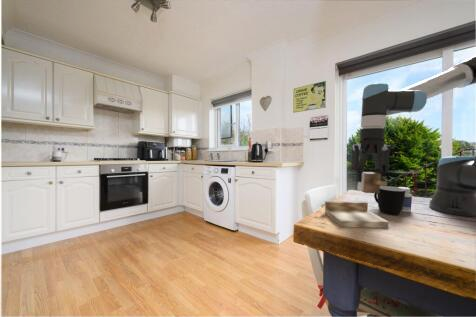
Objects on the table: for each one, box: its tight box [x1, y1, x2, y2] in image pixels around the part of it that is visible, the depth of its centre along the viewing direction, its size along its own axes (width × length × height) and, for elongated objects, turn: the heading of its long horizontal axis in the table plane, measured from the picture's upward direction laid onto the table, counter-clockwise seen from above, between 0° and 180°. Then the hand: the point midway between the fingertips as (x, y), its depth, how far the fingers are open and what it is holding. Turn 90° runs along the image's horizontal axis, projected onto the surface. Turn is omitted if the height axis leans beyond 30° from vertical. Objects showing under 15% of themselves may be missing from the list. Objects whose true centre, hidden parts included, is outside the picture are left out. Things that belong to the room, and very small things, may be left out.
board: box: [324, 200, 390, 228], centre depth 74 cm, size 16×13×5 cm
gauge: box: [361, 171, 388, 194], centre depth 72 cm, size 5×11×7 cm, turn 179°
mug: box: [373, 185, 405, 216], centre depth 84 cm, size 12×9×10 cm
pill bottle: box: [397, 186, 413, 213], centre depth 85 cm, size 5×5×10 cm
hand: (368, 190), depth 75 cm, fingers closed on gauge, 5 cm apart
